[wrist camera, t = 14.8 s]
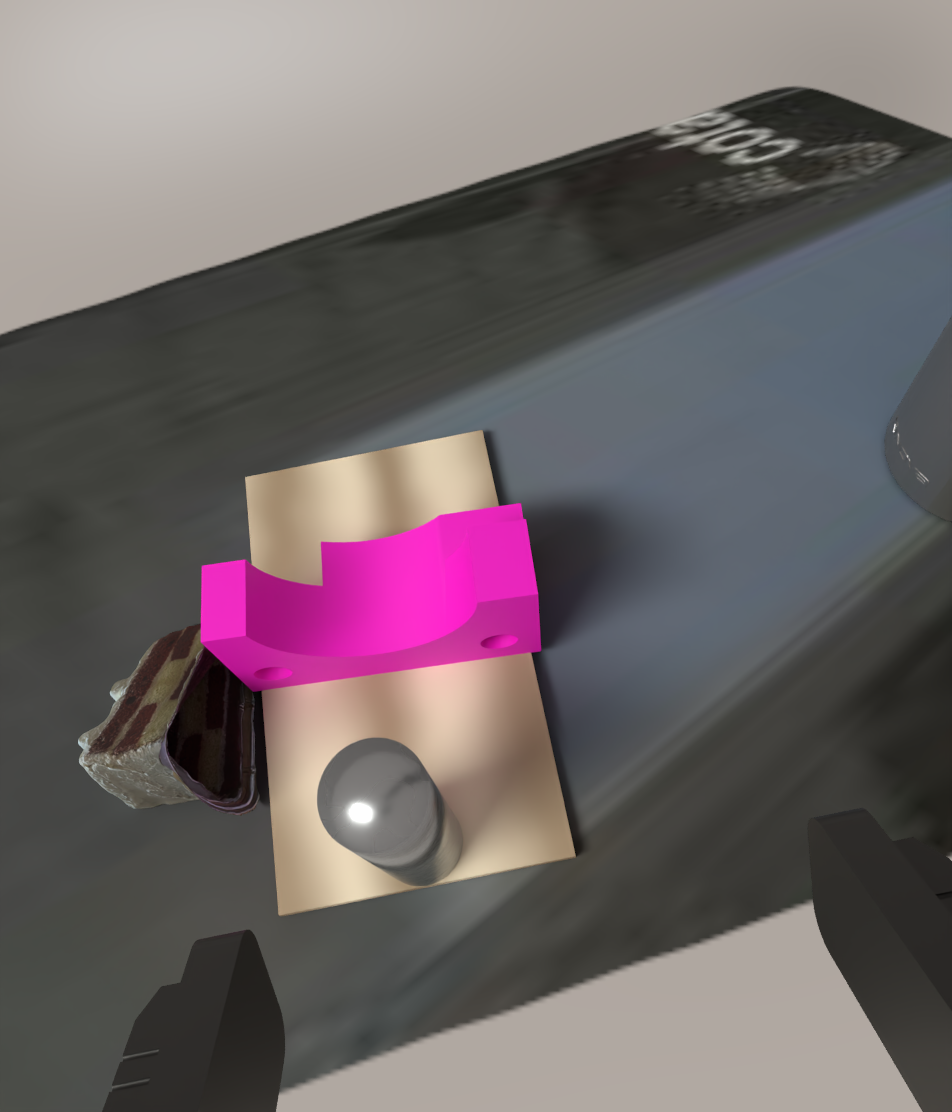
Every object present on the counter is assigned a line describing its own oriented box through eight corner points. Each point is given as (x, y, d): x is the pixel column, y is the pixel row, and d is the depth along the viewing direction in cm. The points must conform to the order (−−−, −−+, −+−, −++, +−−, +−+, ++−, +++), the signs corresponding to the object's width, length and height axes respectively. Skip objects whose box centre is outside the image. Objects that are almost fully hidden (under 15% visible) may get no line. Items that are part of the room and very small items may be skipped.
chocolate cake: (139, 605, 50) (-8, 715, 39) (246, 576, 48) (123, 682, 37) (208, 749, 53) (88, 889, 42) (312, 726, 51) (215, 867, 40)
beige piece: (483, 435, 52) (461, 284, 41) (575, 857, 42) (581, 812, 31) (248, 482, 52) (162, 344, 41) (282, 916, 42) (179, 892, 31)
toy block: (524, 542, 48) (518, 472, 42) (541, 651, 46) (538, 594, 39) (252, 582, 49) (203, 518, 42) (253, 691, 46) (200, 642, 39)
